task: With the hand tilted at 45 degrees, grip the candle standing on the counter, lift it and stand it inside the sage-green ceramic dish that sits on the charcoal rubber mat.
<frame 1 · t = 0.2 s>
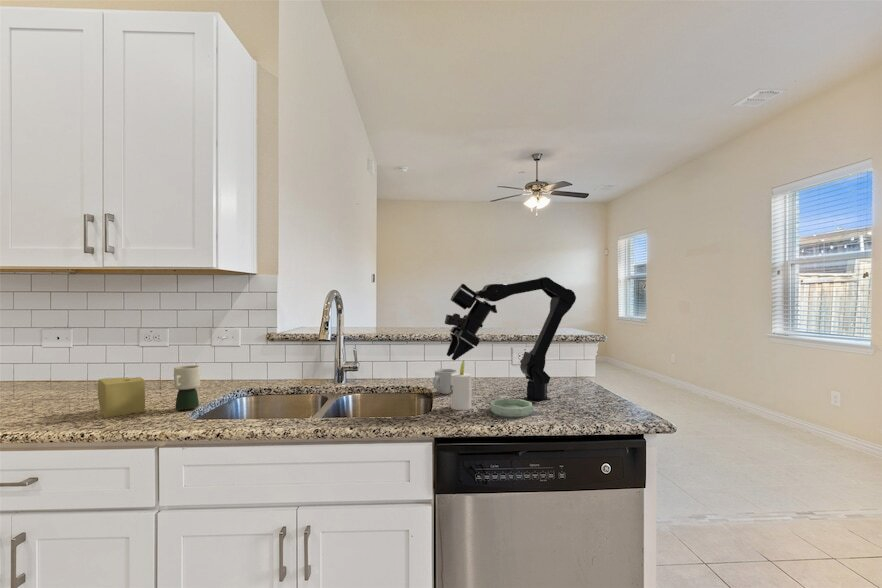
hand: (450, 357, 144), 15 cm above the counter, tool tilted 35°, fingers open, 9 cm apart
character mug: (187, 409, 136), on the counter
dish: (511, 411, 132), resting on mat
cup: (443, 394, 158), on the counter
cheese: (121, 413, 133), on the counter
candle: (460, 409, 137), on the counter
mat: (511, 413, 132), on the counter
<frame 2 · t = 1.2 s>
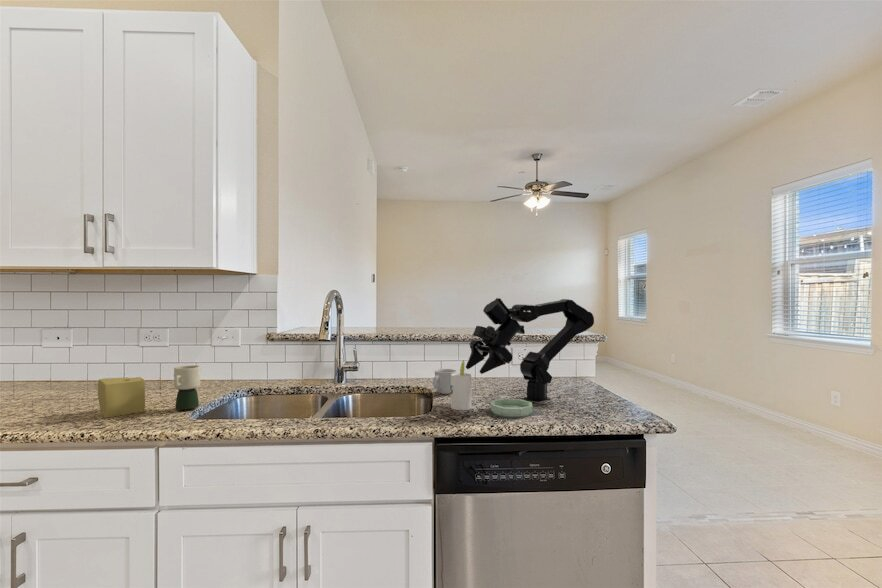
hand: (473, 370, 139), 11 cm above the counter, tool tilted 45°, fingers open, 9 cm apart
nothing on the counter moved.
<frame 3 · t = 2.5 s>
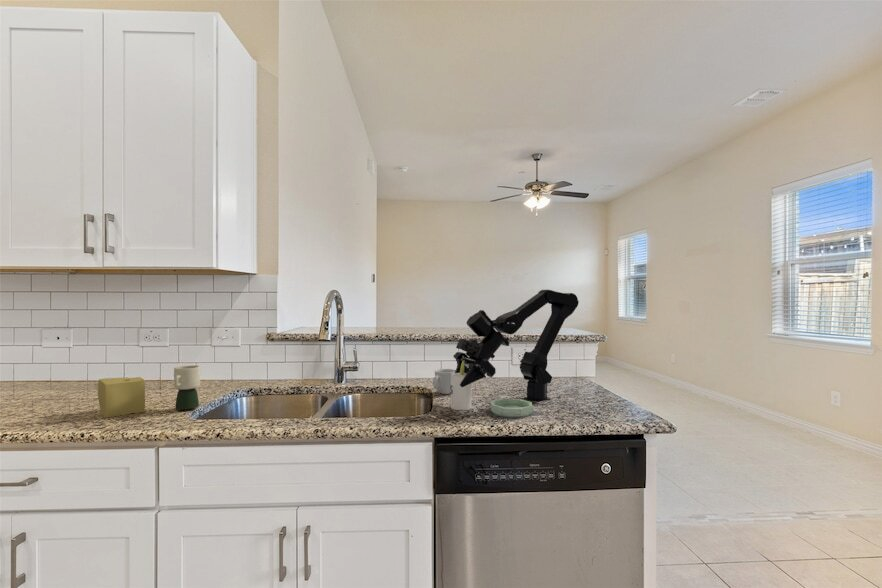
hand: (456, 384, 136), 8 cm above the counter, tool tilted 45°, fingers closed on candle, 6 cm apart
candle: (460, 409, 137), on the counter, touching gripper
everything else where it was.
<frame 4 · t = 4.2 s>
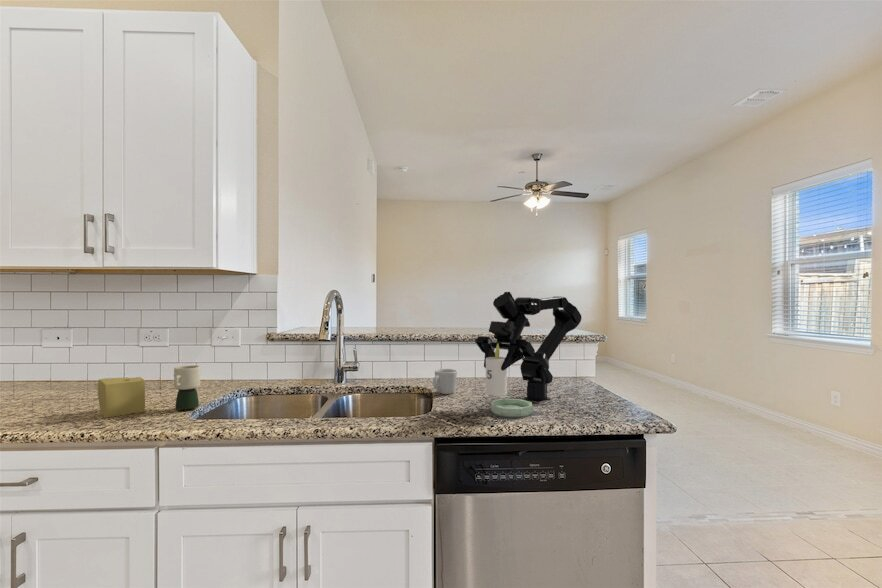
hand: (493, 368, 132), 13 cm above the counter, tool tilted 45°, fingers closed on candle, 6 cm apart
candle: (496, 393, 133), point 5 cm above the counter, touching gripper
everything else where it was.
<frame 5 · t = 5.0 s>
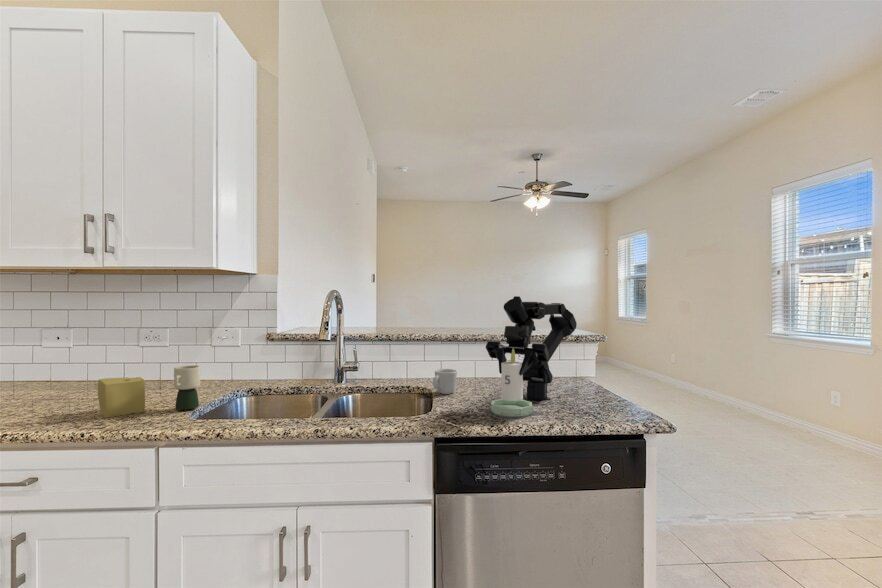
hand: (510, 373, 131), 12 cm above the counter, tool tilted 45°, fingers closed on candle, 6 cm apart
candle: (511, 399, 132), point 4 cm above the counter, touching gripper
everything else where it was.
when the fingers open (10 cm above the counter, at t = 5.9 s): candle stays where it is, resting on dish.
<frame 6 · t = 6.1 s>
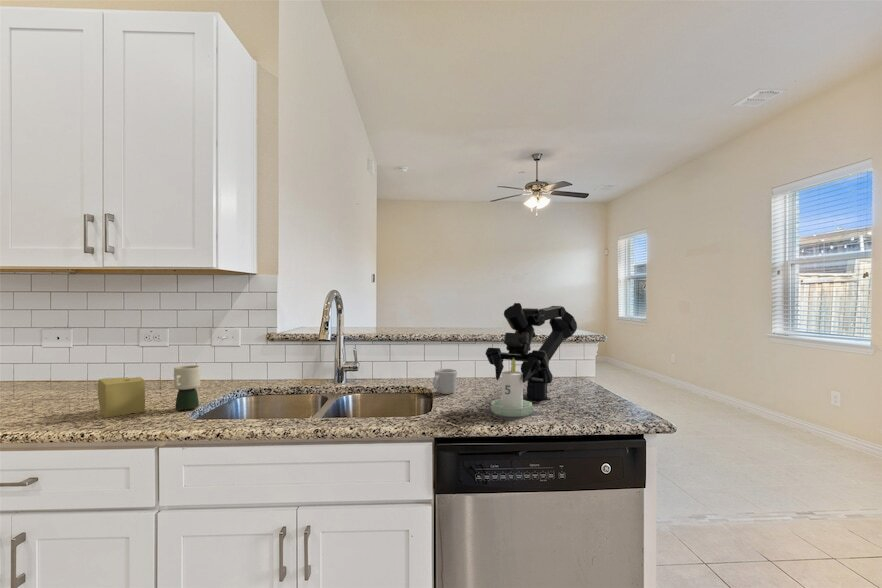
hand: (509, 380, 130), 10 cm above the counter, tool tilted 45°, fingers open, 8 cm apart
candle: (512, 409, 132), point 1 cm above the counter, touching dish
everything else where it was.
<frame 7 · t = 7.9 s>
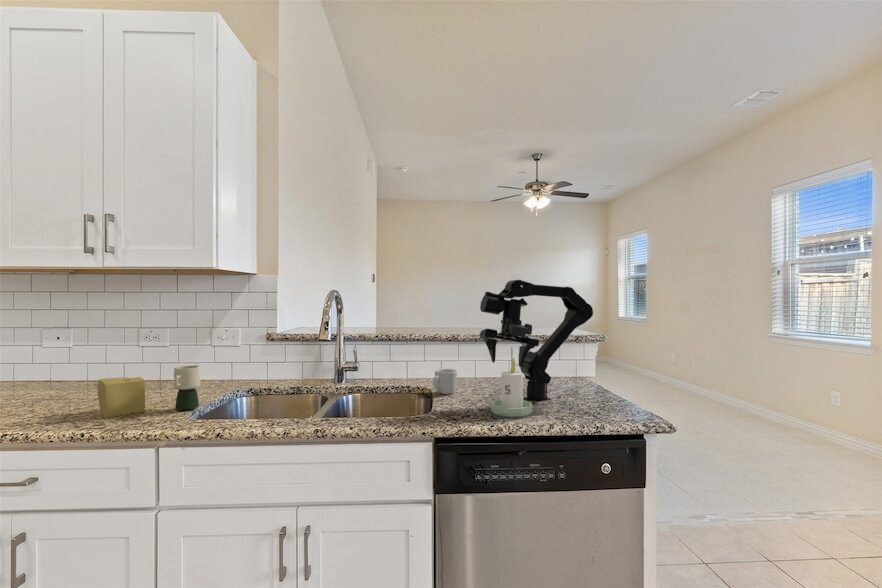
hand: (506, 364, 142), 13 cm above the counter, tool tilted 15°, fingers open, 9 cm apart
nothing on the counter moved.
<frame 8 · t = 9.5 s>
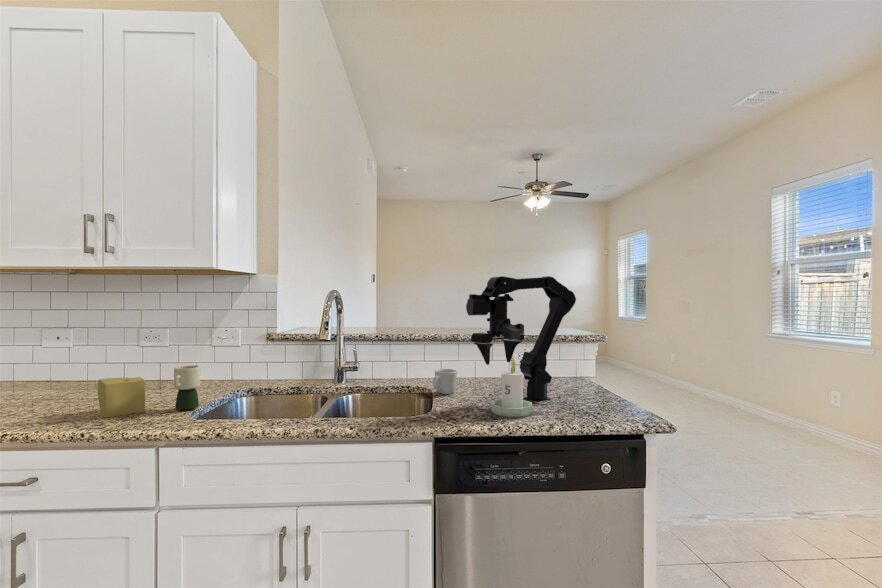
hand: (498, 363, 143), 13 cm above the counter, tool pointing down, fingers open, 9 cm apart
nothing on the counter moved.
at the end: candle inside the target area on the dish (0.1 cm from its centre), point 0.8 cm above the dish's base; candle tilted 0°; the gripper is holding nothing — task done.
